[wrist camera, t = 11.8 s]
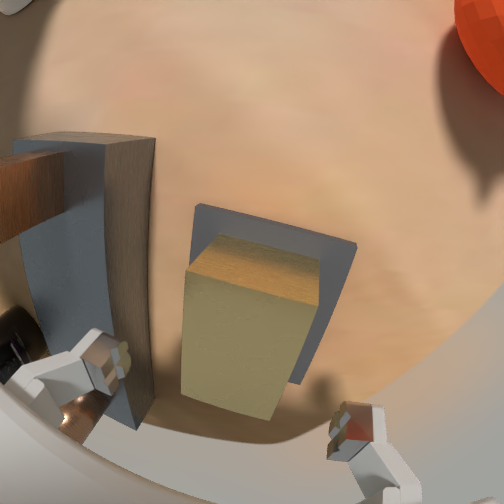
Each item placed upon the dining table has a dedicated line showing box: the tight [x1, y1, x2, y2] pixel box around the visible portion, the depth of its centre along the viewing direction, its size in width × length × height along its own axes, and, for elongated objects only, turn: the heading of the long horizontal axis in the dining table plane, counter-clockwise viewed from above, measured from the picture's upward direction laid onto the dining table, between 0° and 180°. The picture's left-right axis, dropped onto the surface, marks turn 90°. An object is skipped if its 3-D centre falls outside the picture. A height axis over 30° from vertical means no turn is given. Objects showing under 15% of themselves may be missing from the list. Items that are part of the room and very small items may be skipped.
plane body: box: [0, 132, 155, 445], centre depth 14 cm, size 22×8×10 cm, turn 170°
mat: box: [189, 203, 357, 385], centre depth 16 cm, size 10×8×1 cm
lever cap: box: [181, 234, 320, 421], centre depth 14 cm, size 8×5×4 cm, turn 170°
